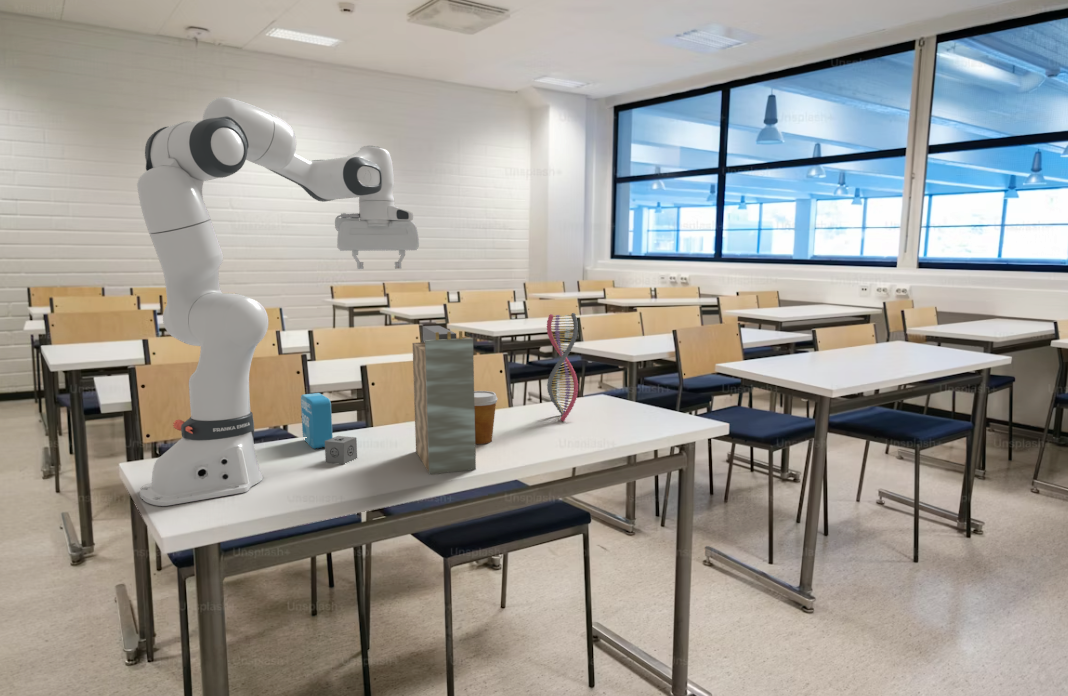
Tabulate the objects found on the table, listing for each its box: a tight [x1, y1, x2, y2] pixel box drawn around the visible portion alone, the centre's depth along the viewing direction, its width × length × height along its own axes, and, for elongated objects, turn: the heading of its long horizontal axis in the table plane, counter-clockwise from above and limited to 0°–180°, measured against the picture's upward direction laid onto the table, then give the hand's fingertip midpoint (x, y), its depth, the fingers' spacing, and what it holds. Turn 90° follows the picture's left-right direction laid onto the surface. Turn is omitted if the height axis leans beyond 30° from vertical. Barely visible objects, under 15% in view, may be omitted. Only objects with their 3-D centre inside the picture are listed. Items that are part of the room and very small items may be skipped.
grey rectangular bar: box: [422, 325, 457, 342], centre depth 158 cm, size 20×4×4 cm, turn 18°
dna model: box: [546, 312, 579, 422], centre depth 198 cm, size 9×9×30 cm
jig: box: [412, 330, 477, 475], centre depth 157 cm, size 19×10×30 cm, turn 18°
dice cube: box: [324, 435, 358, 465], centre depth 159 cm, size 5×5×5 cm
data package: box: [300, 392, 334, 450], centre depth 173 cm, size 12×4×12 cm, turn 31°
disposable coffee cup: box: [474, 390, 499, 445], centre depth 174 cm, size 10×10×12 cm
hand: (379, 268), depth 177 cm, fingers open, 8 cm apart
